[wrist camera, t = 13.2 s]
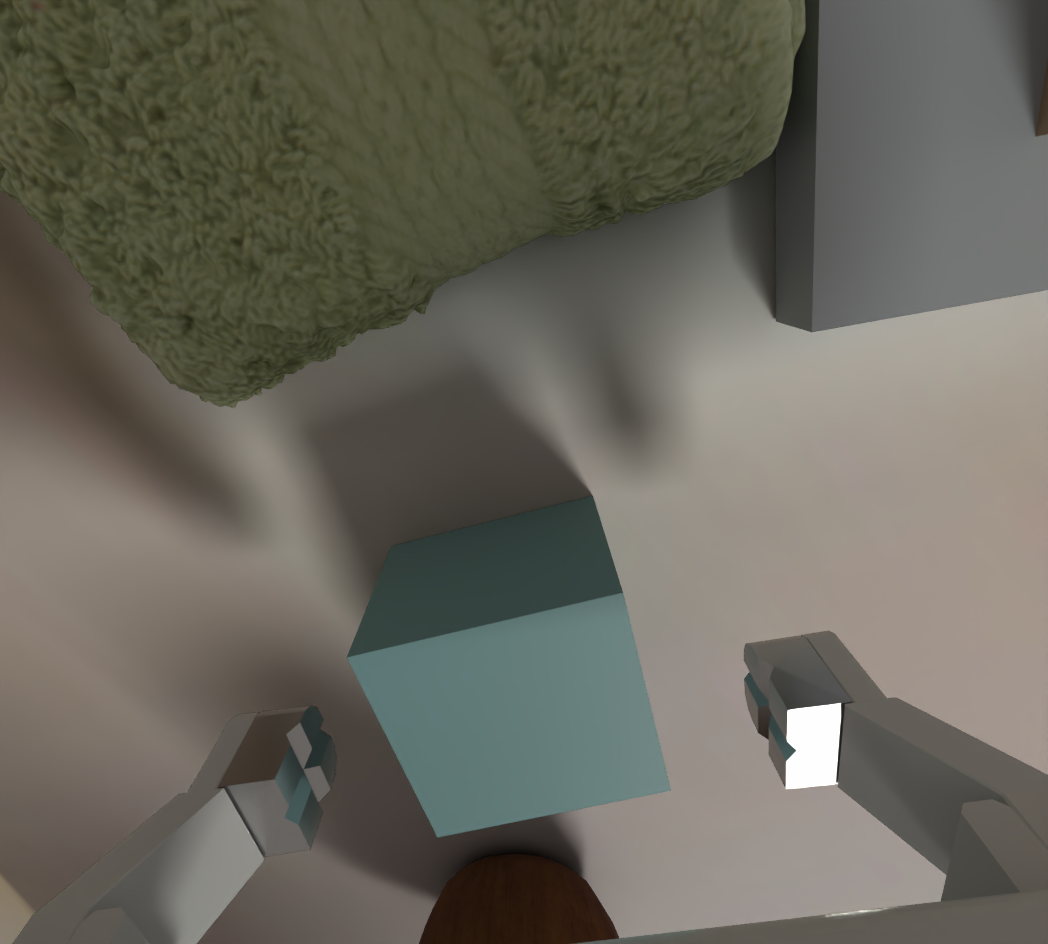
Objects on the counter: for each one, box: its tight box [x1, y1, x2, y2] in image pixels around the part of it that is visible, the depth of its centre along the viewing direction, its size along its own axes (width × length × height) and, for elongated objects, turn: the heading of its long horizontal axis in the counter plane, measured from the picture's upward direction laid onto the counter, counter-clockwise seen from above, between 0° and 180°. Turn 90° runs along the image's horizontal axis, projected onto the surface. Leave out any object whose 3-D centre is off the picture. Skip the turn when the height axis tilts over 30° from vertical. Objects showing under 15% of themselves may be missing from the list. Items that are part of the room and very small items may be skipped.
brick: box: [347, 496, 671, 838], centre depth 12 cm, size 5×5×4 cm
